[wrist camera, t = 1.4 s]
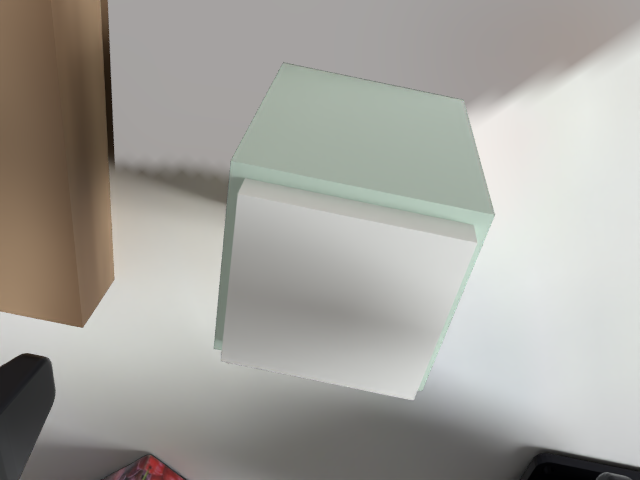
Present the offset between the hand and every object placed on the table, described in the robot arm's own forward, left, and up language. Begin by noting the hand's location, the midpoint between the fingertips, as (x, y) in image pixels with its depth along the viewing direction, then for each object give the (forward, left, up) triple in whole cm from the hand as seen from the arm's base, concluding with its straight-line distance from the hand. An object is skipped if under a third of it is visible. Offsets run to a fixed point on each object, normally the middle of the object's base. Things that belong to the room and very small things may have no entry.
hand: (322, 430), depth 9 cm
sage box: (0, 0, -10) cm, 10 cm away
